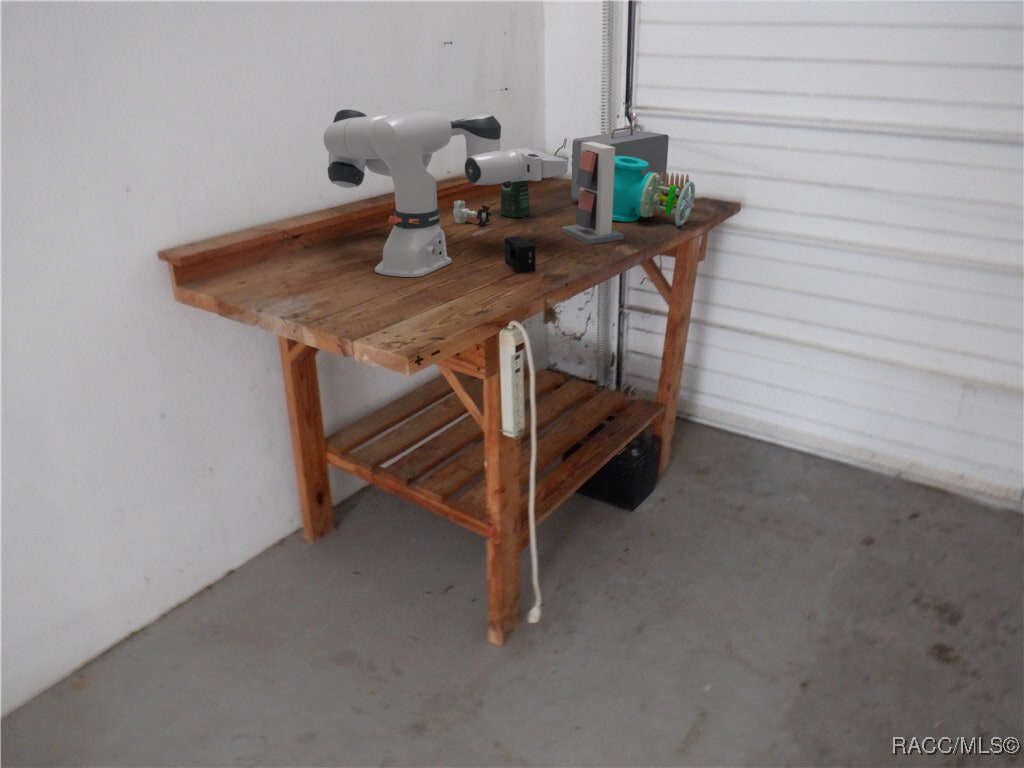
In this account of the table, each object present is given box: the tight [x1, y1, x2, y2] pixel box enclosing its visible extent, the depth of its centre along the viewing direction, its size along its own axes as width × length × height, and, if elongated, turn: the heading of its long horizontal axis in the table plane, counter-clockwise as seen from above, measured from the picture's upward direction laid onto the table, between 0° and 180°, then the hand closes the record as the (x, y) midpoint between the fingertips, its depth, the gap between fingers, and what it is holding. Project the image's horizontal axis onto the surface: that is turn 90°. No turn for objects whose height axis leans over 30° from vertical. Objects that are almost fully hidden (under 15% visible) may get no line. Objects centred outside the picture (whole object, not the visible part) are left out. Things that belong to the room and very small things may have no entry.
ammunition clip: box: [659, 171, 690, 212], centre depth 275 cm, size 11×2×12 cm, turn 60°
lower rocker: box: [574, 190, 595, 228], centre depth 242 cm, size 1×6×10 cm, turn 27°
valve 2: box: [612, 156, 696, 227], centre depth 259 cm, size 14×18×30 cm
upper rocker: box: [576, 151, 596, 189], centre depth 237 cm, size 1×6×10 cm, turn 27°
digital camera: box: [504, 236, 537, 274], centre depth 217 cm, size 10×5×7 cm, turn 25°
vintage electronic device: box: [570, 126, 670, 202], centre depth 285 cm, size 32×18×25 cm, turn 133°
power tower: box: [561, 142, 624, 245], centre depth 241 cm, size 12×16×27 cm
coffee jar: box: [500, 180, 531, 219], centre depth 267 cm, size 10×8×19 cm
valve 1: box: [453, 200, 492, 227], centre depth 260 cm, size 7×7×12 cm
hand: (566, 159), depth 233 cm, fingers closed
